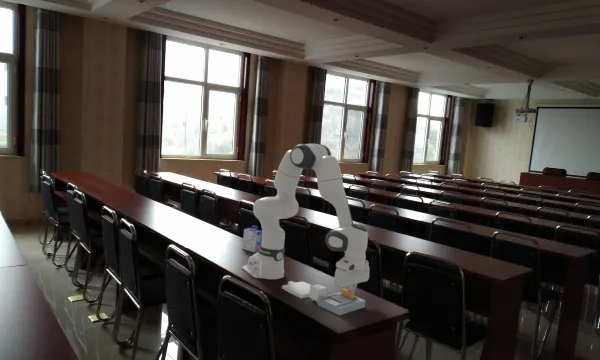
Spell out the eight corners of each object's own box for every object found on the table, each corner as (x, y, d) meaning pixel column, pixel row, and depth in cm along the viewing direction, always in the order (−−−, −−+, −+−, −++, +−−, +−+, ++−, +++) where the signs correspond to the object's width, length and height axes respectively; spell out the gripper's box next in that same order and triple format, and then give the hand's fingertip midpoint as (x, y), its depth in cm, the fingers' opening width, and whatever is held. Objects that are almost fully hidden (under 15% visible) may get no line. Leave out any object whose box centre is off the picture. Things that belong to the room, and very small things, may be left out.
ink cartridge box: (260, 251, 254) (263, 227, 253) (255, 253, 249) (257, 228, 248) (247, 247, 259) (249, 223, 258) (241, 249, 254) (243, 225, 253)
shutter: (329, 298, 182) (330, 291, 182) (341, 294, 188) (342, 288, 188) (342, 304, 177) (343, 296, 177) (354, 300, 183) (355, 293, 183)
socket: (317, 305, 181) (318, 296, 181) (342, 297, 193) (343, 289, 193) (339, 315, 173) (340, 306, 173) (364, 307, 185) (365, 298, 184)
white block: (308, 300, 185) (310, 285, 185) (316, 298, 189) (318, 283, 188) (316, 304, 182) (318, 289, 181) (324, 302, 185) (326, 287, 185)
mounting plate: (278, 287, 198) (278, 283, 198) (298, 283, 207) (299, 279, 207) (305, 301, 185) (305, 297, 185) (326, 296, 194) (326, 292, 194)
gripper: (363, 257, 195) (359, 287, 196) (333, 263, 180) (329, 295, 182) (374, 261, 190) (370, 291, 192) (345, 267, 176) (341, 300, 177)
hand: (350, 293), depth 187 cm, fingers closed
